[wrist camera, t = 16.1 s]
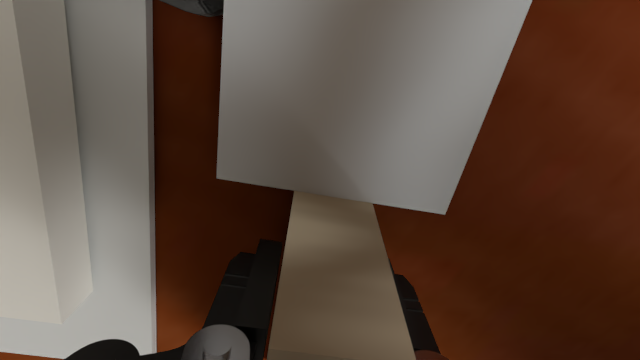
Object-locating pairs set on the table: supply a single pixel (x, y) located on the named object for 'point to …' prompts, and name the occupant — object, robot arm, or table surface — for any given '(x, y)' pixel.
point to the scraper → (354, 143)
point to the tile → (39, 168)
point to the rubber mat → (109, 182)
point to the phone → (199, 6)
